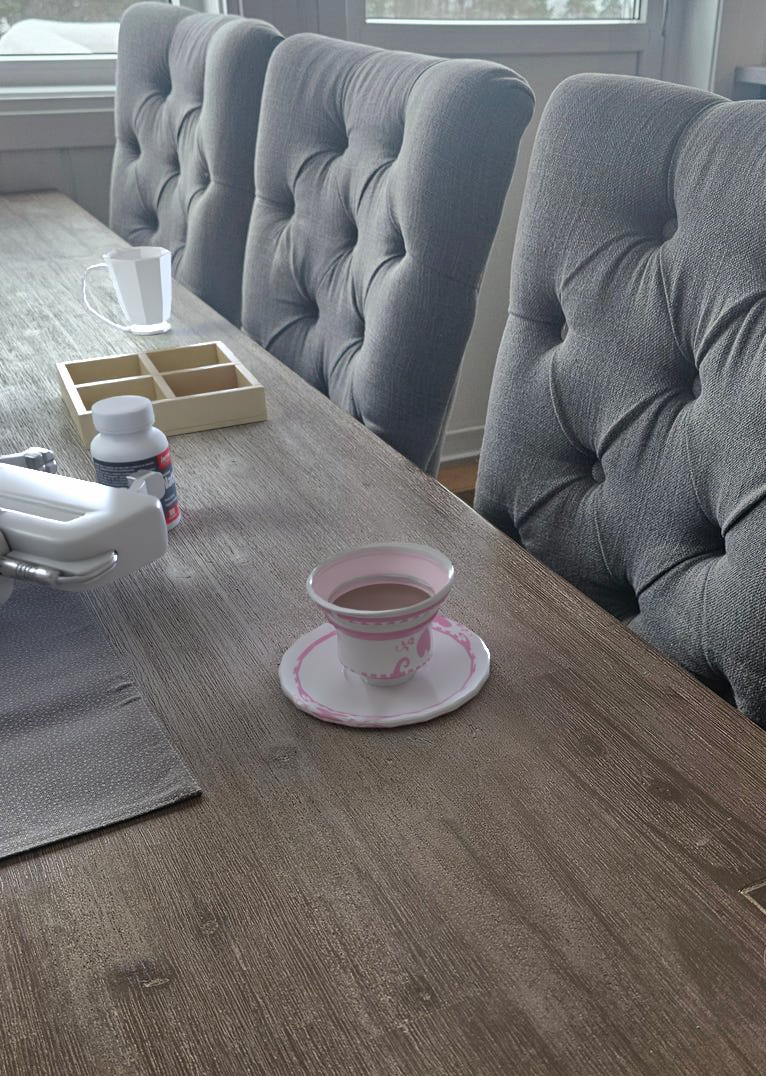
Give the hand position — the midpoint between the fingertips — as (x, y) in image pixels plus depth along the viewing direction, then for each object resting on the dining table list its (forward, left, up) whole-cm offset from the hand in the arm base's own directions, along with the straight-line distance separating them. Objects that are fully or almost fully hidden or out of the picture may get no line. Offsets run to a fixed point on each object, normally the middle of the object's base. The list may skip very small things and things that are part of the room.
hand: (100, 469), depth 76 cm
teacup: (+20, -17, -6) cm, 27 cm away
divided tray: (-4, +28, -5) cm, 28 cm away
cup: (-13, +53, -6) cm, 54 cm away
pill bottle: (+1, +3, -6) cm, 6 cm away
